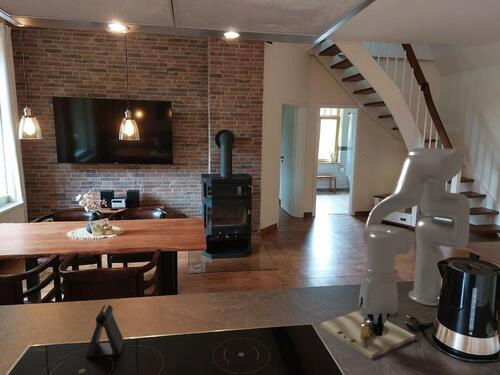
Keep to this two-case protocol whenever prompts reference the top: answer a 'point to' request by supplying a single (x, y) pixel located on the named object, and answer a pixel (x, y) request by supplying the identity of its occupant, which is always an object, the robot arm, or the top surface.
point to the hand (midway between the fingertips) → (377, 333)
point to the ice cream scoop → (365, 330)
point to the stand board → (350, 334)
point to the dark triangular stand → (112, 333)
